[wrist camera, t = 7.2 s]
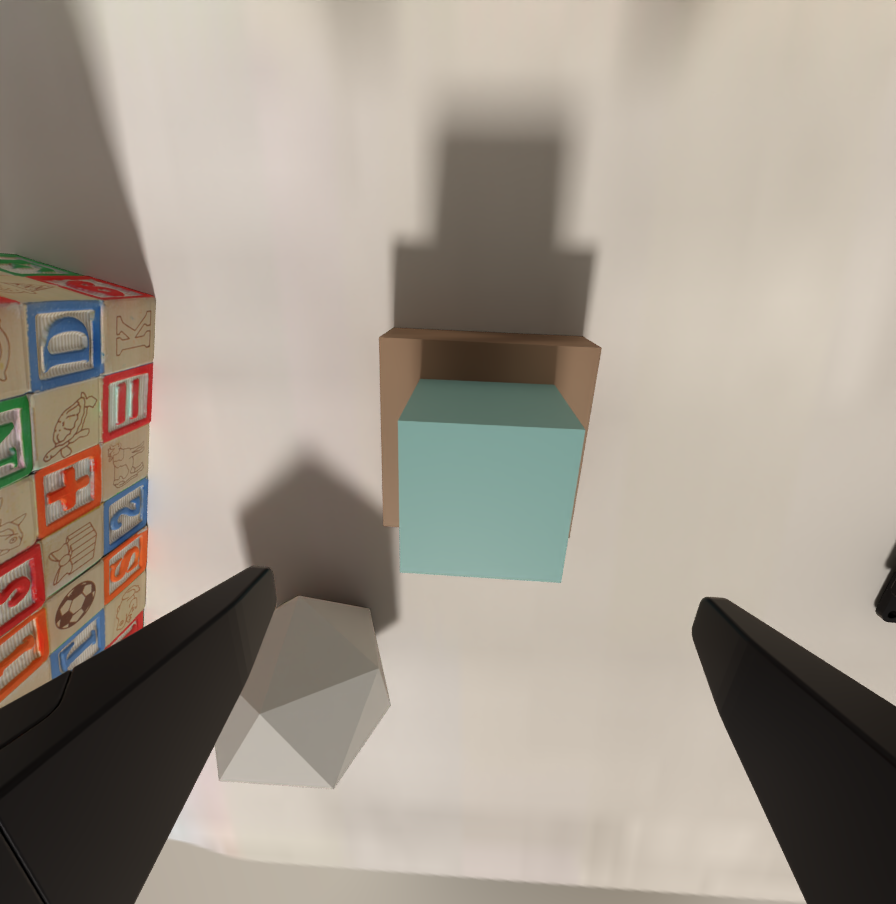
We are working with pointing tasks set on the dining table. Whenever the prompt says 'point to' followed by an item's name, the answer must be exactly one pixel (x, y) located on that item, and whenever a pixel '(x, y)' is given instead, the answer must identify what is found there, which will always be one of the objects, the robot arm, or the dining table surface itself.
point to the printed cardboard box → (70, 468)
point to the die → (306, 698)
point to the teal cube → (487, 479)
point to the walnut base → (476, 378)
